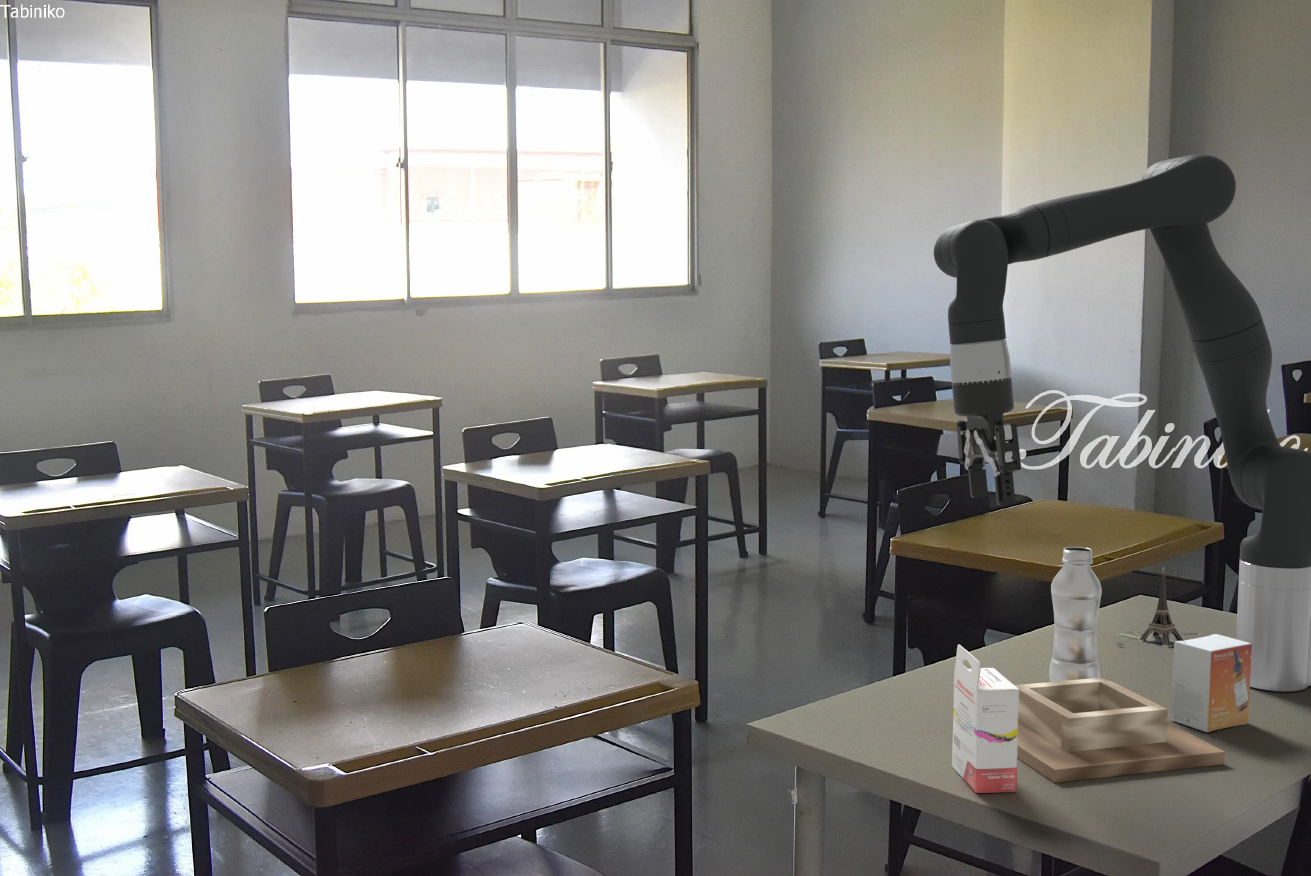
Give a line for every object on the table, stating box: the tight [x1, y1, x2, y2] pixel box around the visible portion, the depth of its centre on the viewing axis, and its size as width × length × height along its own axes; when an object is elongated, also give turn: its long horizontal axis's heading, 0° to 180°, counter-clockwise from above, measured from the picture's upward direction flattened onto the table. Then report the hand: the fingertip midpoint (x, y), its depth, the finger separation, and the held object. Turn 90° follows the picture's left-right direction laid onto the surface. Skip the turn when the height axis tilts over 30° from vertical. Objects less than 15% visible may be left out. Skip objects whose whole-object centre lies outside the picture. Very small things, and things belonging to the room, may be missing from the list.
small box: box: [1170, 633, 1252, 733], centre depth 159 cm, size 8×6×10 cm
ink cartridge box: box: [951, 644, 1019, 794], centre depth 141 cm, size 9×5×15 cm, turn 5°
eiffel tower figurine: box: [1114, 566, 1201, 649], centre depth 197 cm, size 15×10×13 cm
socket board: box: [1014, 677, 1226, 783], centre depth 153 cm, size 22×22×6 cm
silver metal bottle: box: [1048, 546, 1103, 682], centre depth 171 cm, size 6×7×20 cm
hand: (992, 500), depth 163 cm, fingers open, 8 cm apart
